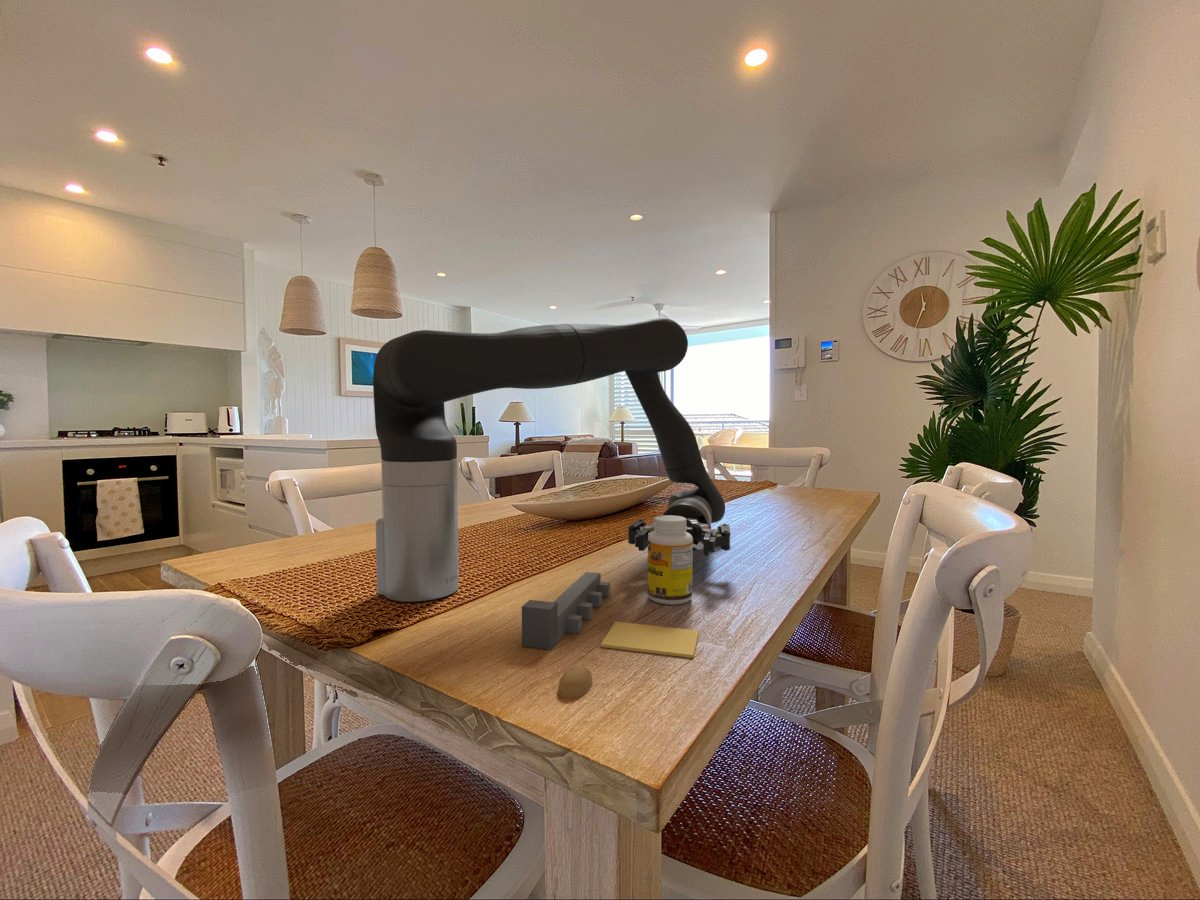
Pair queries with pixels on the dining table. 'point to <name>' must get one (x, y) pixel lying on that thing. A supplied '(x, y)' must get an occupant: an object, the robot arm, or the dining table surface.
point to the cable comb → (562, 612)
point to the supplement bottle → (670, 561)
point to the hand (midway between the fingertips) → (673, 545)
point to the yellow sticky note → (652, 639)
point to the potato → (575, 682)
